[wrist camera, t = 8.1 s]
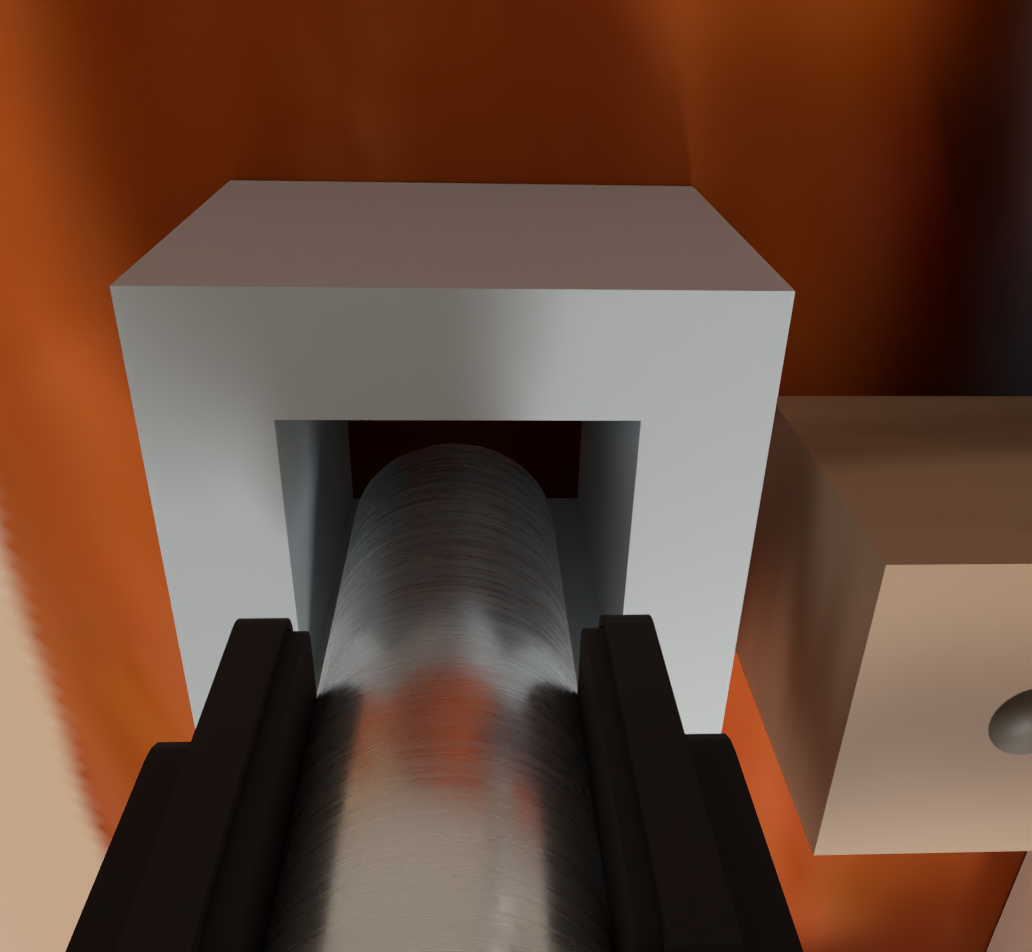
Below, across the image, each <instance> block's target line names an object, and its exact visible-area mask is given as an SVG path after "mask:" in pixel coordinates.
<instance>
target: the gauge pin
mask: <svg viewBox="0 0 1032 952" xmlns="http://www.w3.org/2000/svg"><path fill="white" fill-rule="evenodd" d="M263 952H615V951H614V944H613V937H612V931H611V924H610V917H609V910H608V903H607V896H606V889H605V883H604V876H603V869H602V862H601V855H600V848H599V842H598V835H597V828H596V821H595V814H594V807H593V800H592V794H591V787H590V780H589V773H588V766H587V759H586V753H585V746H584V739H583V732H582V725H581V718H580V711H579V705H578V698H577V681H576V674H575V667H574V661H573V654H572V647H571V641H570V634H569V627H568V620H567V614H566V607H565V600H564V593H563V587H562V580H561V573H560V567H559V560H558V553H557V546H556V540H555V533H554V526H553V520H552V514H551V509H550V506H549V503H548V501H547V498H546V496H545V494H544V492H543V490H542V489H541V487H540V486H539V484H538V483H537V482H536V480H535V479H534V478H533V477H532V476H531V475H530V474H529V473H528V472H527V471H526V470H525V469H524V468H523V467H522V466H520V465H519V464H518V463H517V462H515V461H513V460H512V459H510V458H508V457H507V456H505V455H503V454H501V453H498V452H496V451H494V450H491V449H488V448H484V447H481V446H476V445H470V444H460V443H446V444H436V445H430V446H425V447H422V448H419V449H415V450H413V451H410V452H408V453H406V454H404V455H401V456H400V457H398V458H396V459H395V460H393V461H391V462H390V463H389V464H387V465H386V466H385V467H384V468H382V469H381V470H380V471H379V472H378V473H377V474H376V475H375V476H374V477H373V478H372V480H371V481H370V483H369V484H368V485H367V487H366V488H365V490H364V492H363V494H362V496H361V498H360V500H359V503H358V506H357V509H356V514H355V518H354V523H353V528H352V532H351V537H350V542H349V547H348V551H347V556H346V561H345V565H344V570H343V575H342V579H341V584H340V589H339V593H338V598H337V603H336V607H335V612H334V617H333V622H332V626H331V631H330V636H329V640H328V645H327V650H326V654H325V659H324V664H323V668H322V673H321V678H320V683H319V687H318V692H317V699H316V704H315V709H314V714H313V718H312V723H311V728H310V732H309V737H308V742H307V747H306V751H305V756H304V761H303V765H302V770H301V775H300V779H299V784H298V789H297V794H296V798H295V803H294V808H293V812H292V817H291V822H290V827H289V831H288V836H287V841H286V845H285V850H284V855H283V860H282V864H281V869H280V874H279V878H278V883H277V888H276V893H275V897H274V902H273V907H272V911H271V916H270V921H269V926H268V930H267V935H266V940H265V944H264V949H263Z"/></svg>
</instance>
